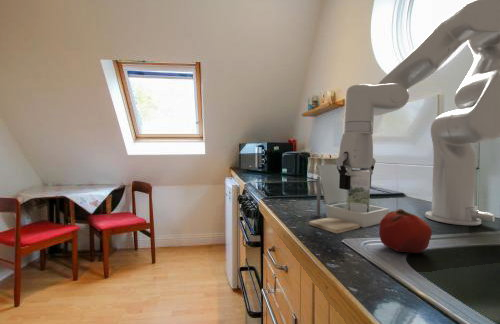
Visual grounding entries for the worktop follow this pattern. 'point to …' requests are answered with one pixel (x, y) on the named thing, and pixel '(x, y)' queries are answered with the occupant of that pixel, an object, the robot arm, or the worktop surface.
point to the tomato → (404, 232)
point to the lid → (331, 184)
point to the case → (352, 212)
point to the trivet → (334, 225)
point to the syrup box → (359, 191)
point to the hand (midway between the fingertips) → (355, 188)
